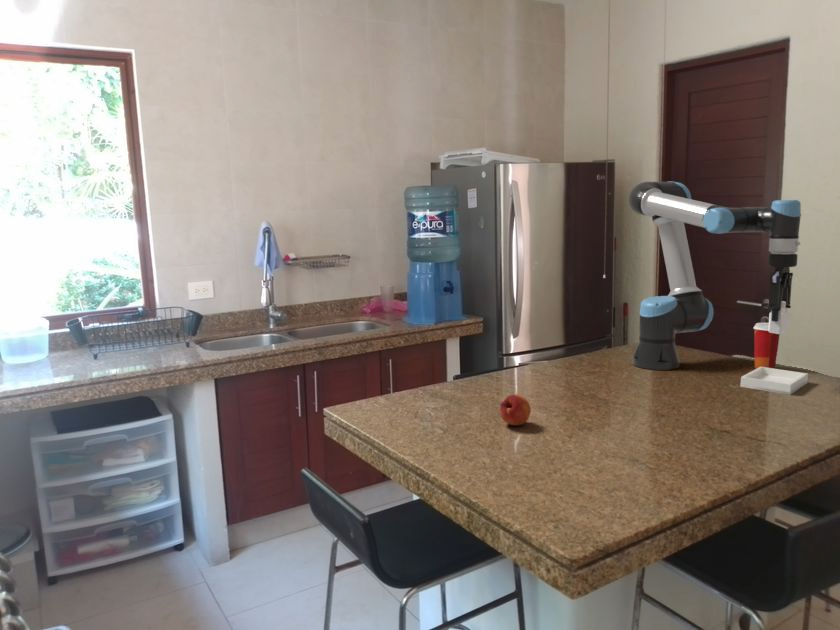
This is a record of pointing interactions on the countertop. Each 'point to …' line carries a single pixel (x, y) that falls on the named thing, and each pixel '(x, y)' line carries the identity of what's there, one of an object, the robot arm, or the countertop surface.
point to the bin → (774, 380)
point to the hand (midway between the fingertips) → (777, 330)
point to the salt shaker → (783, 320)
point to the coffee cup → (765, 346)
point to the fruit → (515, 410)
